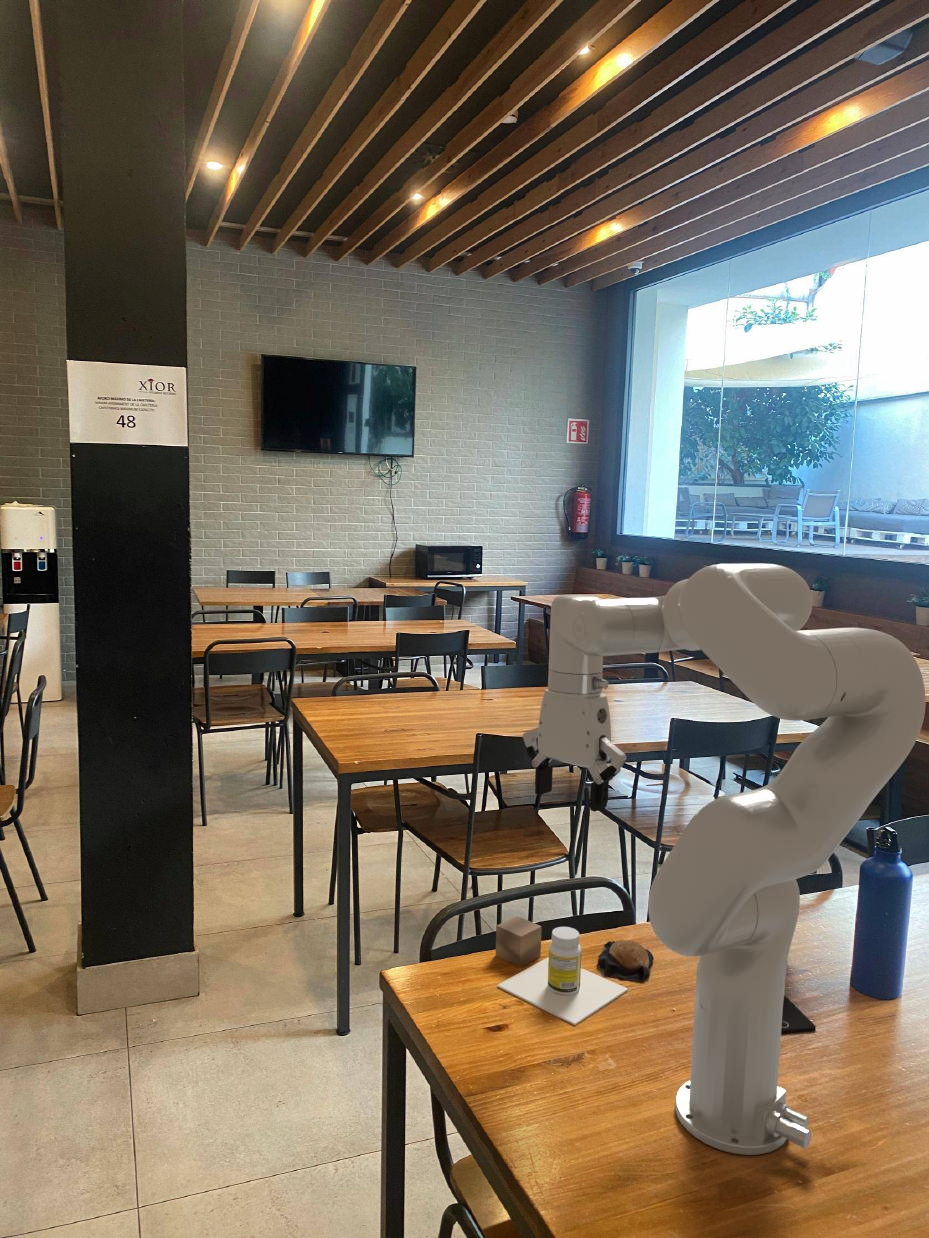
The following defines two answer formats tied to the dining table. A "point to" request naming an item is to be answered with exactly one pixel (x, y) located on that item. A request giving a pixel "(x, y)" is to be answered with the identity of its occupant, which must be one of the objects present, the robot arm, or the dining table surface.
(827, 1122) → the dining table surface
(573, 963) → the supplement bottle
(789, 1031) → the cell phone
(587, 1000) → the white square tile
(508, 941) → the walnut block
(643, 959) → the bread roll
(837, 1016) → the dining table surface
